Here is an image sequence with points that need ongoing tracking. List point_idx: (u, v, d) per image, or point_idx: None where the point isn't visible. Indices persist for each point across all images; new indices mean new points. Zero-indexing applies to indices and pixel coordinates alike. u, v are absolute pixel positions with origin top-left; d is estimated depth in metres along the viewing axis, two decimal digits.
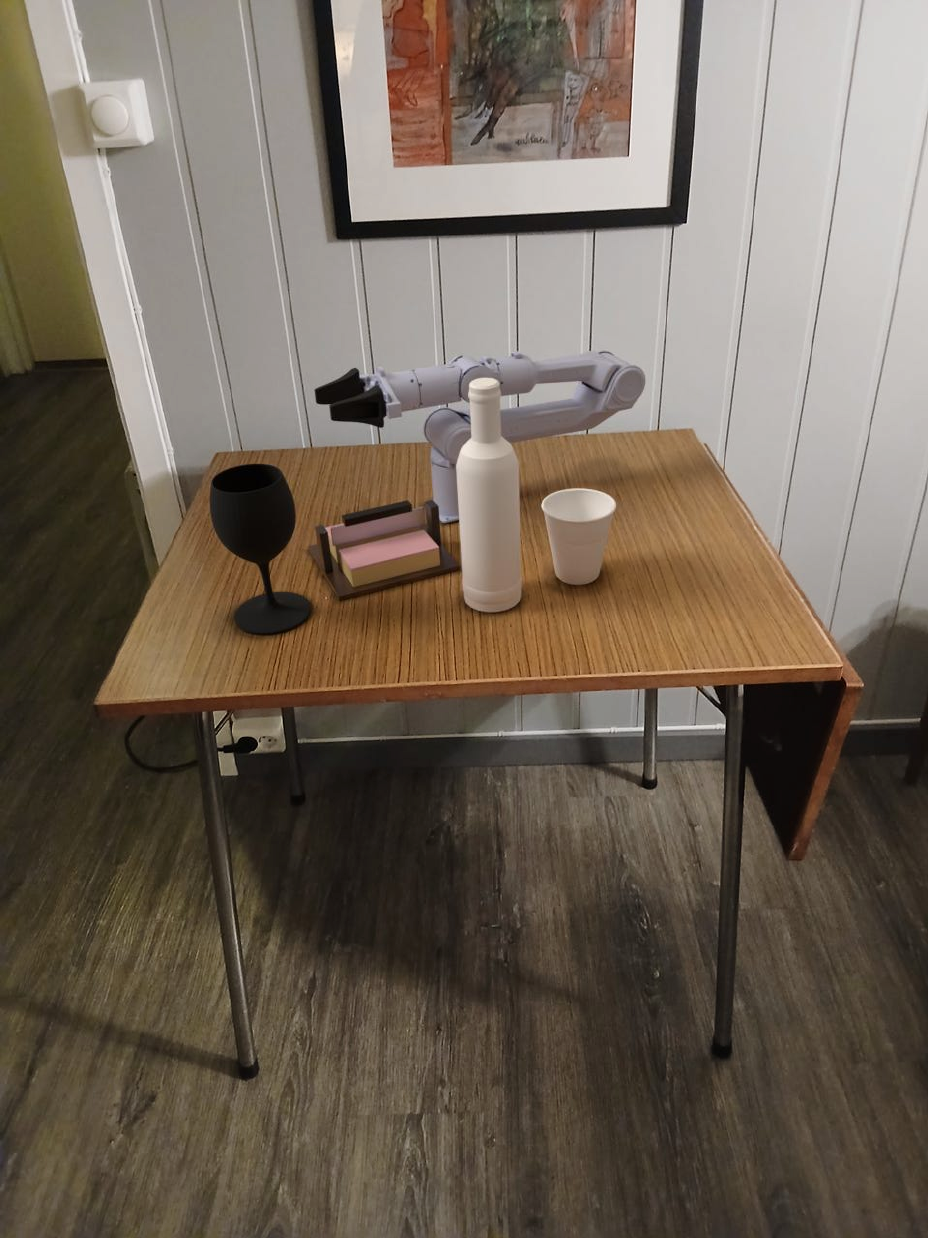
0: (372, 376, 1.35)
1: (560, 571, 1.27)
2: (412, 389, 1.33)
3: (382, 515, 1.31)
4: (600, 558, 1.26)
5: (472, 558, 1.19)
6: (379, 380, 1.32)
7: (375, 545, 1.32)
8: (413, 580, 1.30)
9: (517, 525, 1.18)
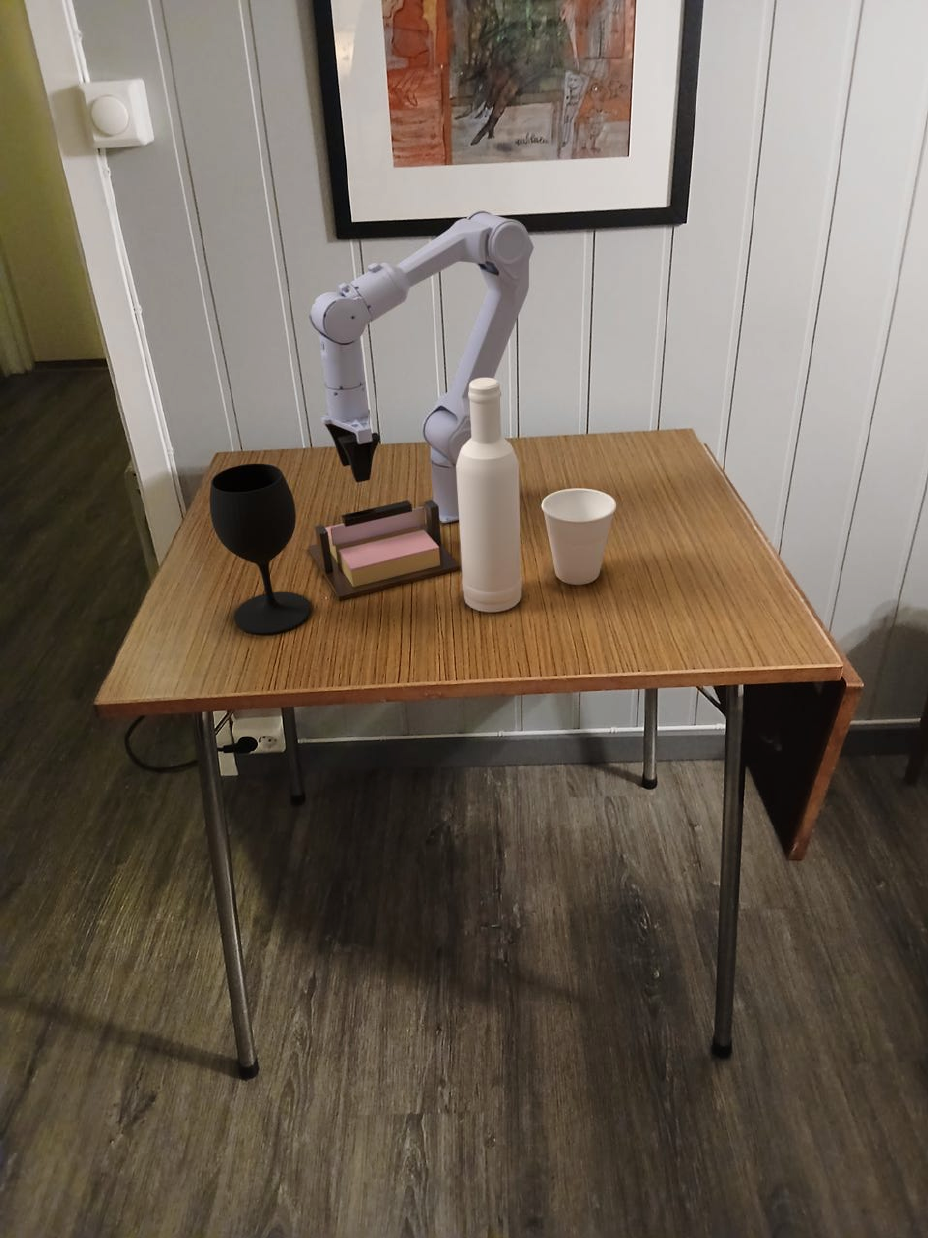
0: None
1: (561, 571, 1.27)
2: (344, 396, 1.28)
3: (382, 515, 1.31)
4: (600, 558, 1.26)
5: (472, 558, 1.19)
6: None
7: (375, 545, 1.32)
8: (413, 580, 1.30)
9: (517, 525, 1.18)
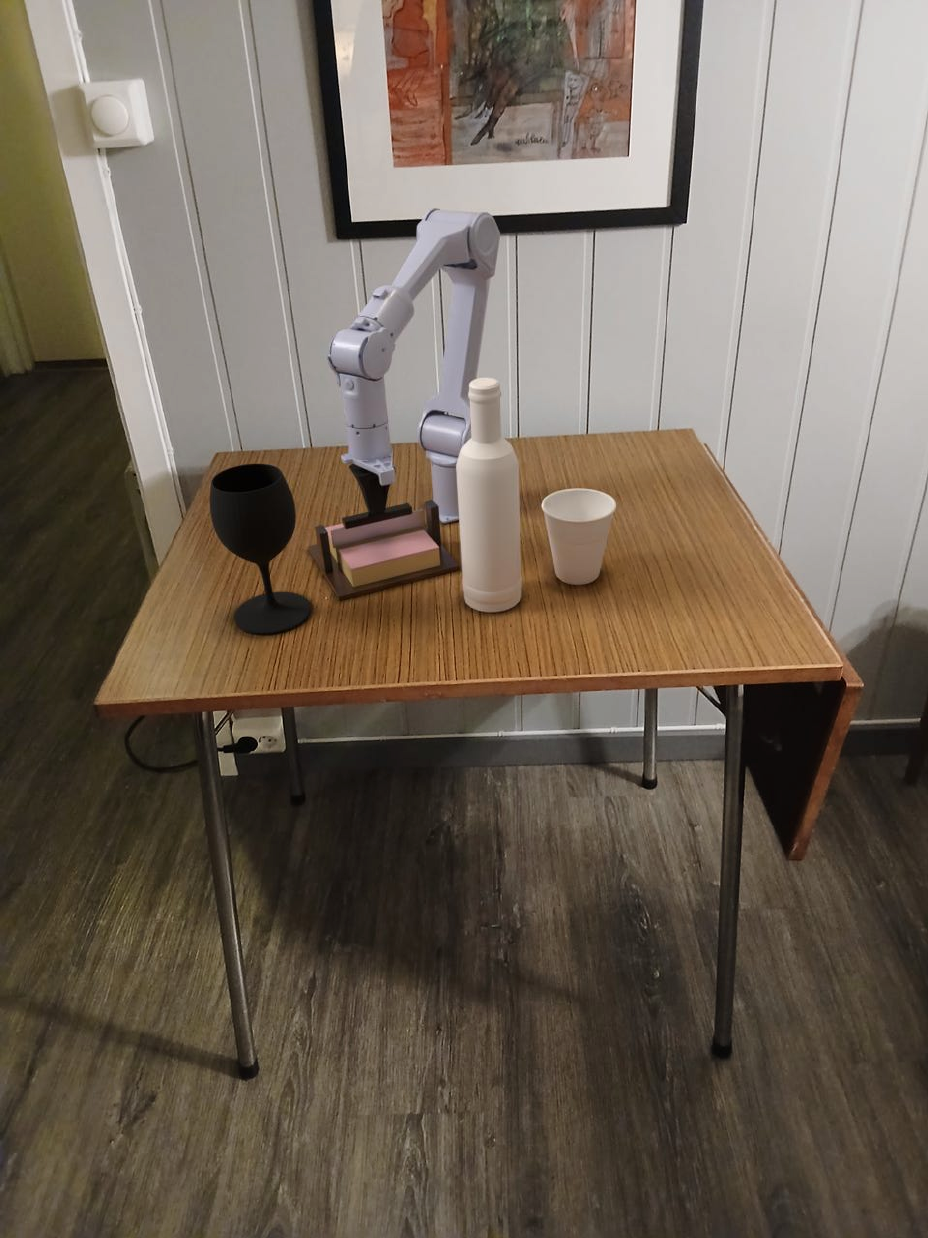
0: None
1: (561, 571, 1.27)
2: (366, 436, 1.23)
3: (382, 517, 1.32)
4: (600, 558, 1.26)
5: (472, 558, 1.19)
6: None
7: (375, 545, 1.32)
8: (413, 580, 1.30)
9: (517, 525, 1.18)
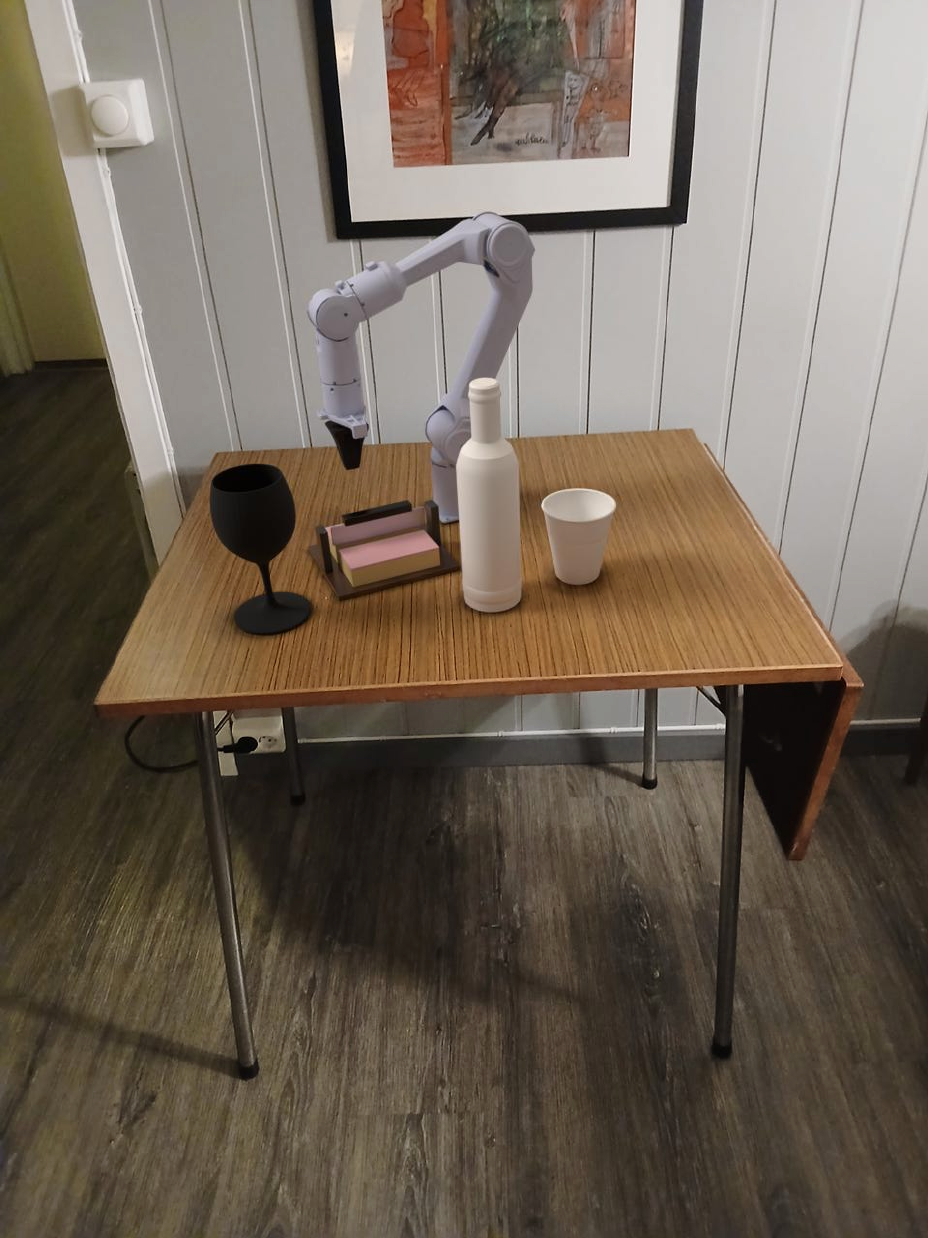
0: None
1: (560, 571, 1.27)
2: (340, 392, 1.30)
3: (382, 515, 1.31)
4: (600, 558, 1.26)
5: (472, 558, 1.19)
6: None
7: (375, 545, 1.32)
8: (413, 580, 1.30)
9: (517, 525, 1.18)
